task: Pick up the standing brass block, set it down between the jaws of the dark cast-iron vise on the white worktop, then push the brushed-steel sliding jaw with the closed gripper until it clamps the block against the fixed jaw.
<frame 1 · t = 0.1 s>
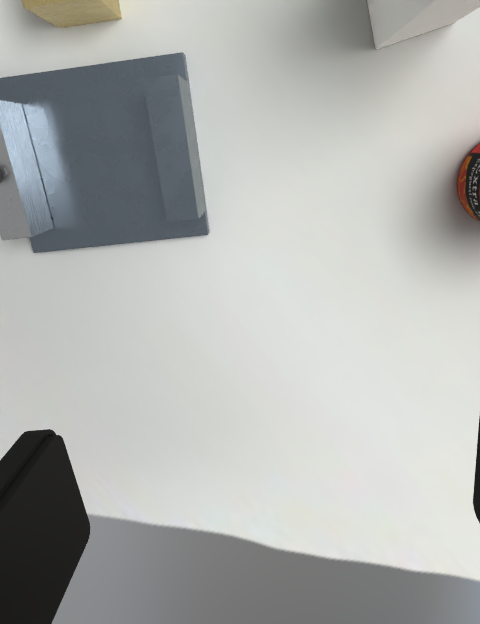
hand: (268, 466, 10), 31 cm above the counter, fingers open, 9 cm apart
sliding jaw: (8, 172, 35), point 4 cm above the counter, slide at 0.0 cm
vise: (106, 160, 38), on the counter
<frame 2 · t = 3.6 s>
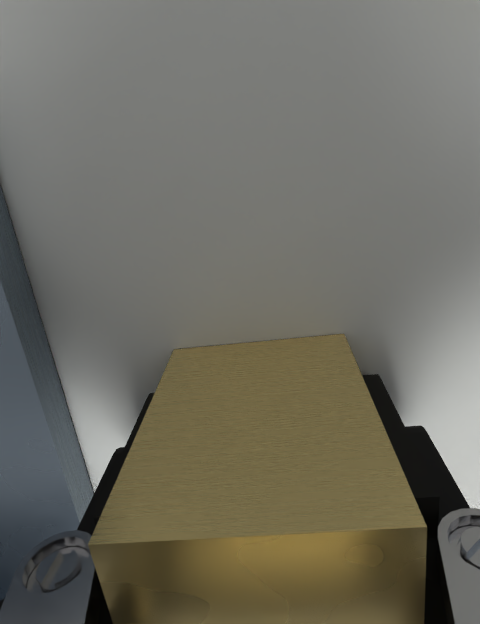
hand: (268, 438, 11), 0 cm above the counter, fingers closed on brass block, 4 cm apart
brass block: (268, 431, 11), on the counter, touching gripper
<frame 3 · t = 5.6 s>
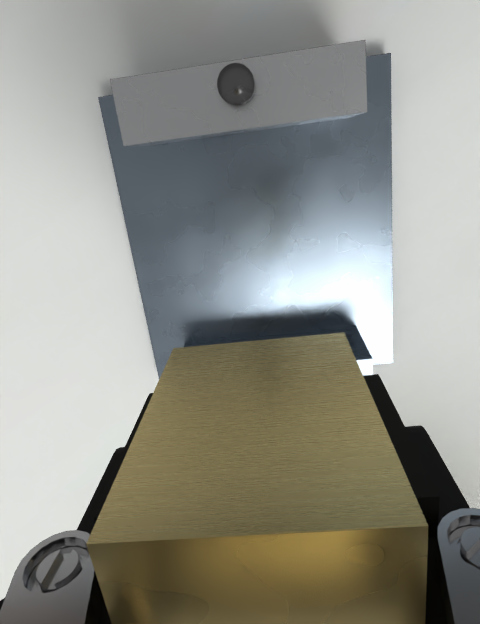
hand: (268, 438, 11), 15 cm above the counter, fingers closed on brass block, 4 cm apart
sliding jaw: (240, 99, 19), point 4 cm above the counter, slide at 0.0 cm
vise: (258, 238, 25), on the counter
brass block: (268, 430, 11), point 15 cm above the counter, touching gripper
when the fingers open (2 cm above the counter, at t = 7.8 s): brass block stays where it is, resting on vise.
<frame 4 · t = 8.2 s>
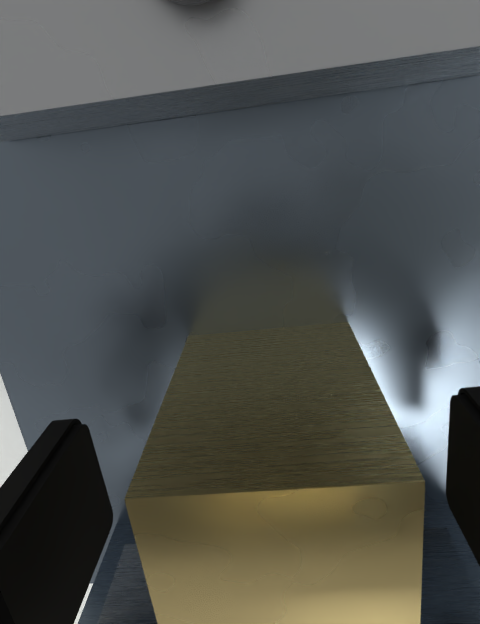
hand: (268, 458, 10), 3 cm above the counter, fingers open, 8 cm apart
sliding jaw: (208, 3, 6), point 4 cm above the counter, slide at 0.0 cm
vise: (259, 330, 12), on the counter
brass block: (275, 414, 12), point 1 cm above the counter, touching vise
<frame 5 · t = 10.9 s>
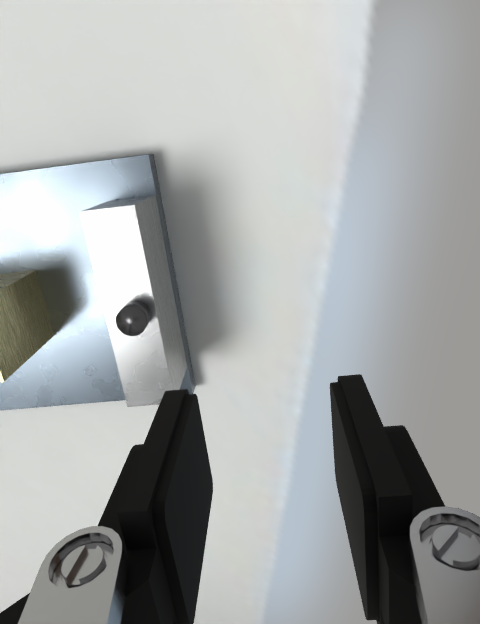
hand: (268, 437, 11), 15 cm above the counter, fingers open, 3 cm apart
sliding jaw: (138, 304, 22), point 4 cm above the counter, slide at 0.0 cm
vise: (45, 295, 26), on the counter
brass block: (4, 307, 26), point 1 cm above the counter, touching vise
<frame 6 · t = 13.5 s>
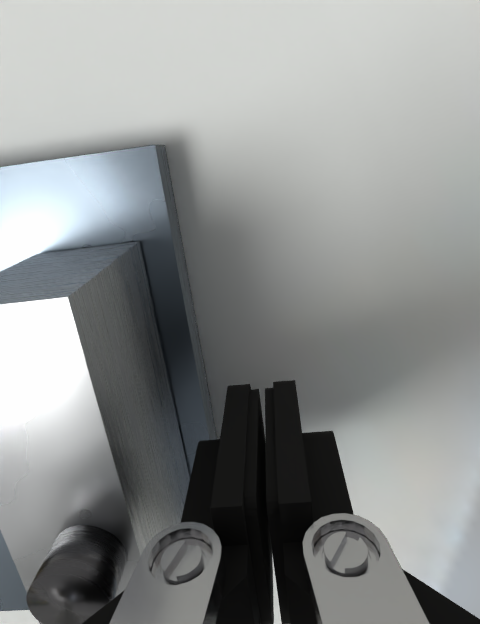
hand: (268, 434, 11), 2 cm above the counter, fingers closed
sliding jaw: (102, 495, 10), point 4 cm above the counter, slide at 0.8 cm, touching gripper
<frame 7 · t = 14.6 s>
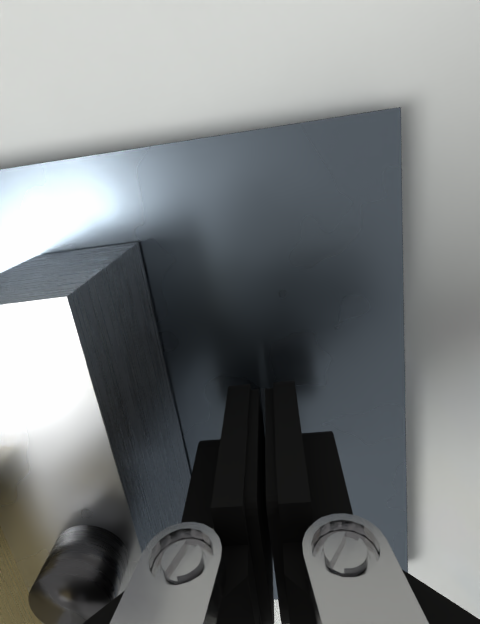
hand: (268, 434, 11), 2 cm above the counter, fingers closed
sliding jaw: (103, 495, 10), point 4 cm above the counter, slide at 6.0 cm, touching brass block, gripper
vise: (120, 408, 13), on the counter
brass block: (10, 444, 13), point 1 cm above the counter, touching sliding jaw, vise
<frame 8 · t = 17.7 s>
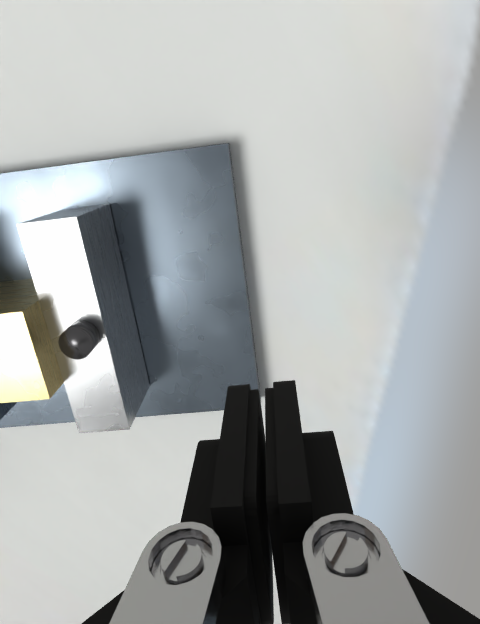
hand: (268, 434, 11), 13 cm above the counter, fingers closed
sliding jaw: (90, 322, 21), point 4 cm above the counter, slide at 6.0 cm, touching brass block
vise: (101, 298, 24), on the counter
brass block: (41, 314, 23), point 1 cm above the counter, touching sliding jaw, vise
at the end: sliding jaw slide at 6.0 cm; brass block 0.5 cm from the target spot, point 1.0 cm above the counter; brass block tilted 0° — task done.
